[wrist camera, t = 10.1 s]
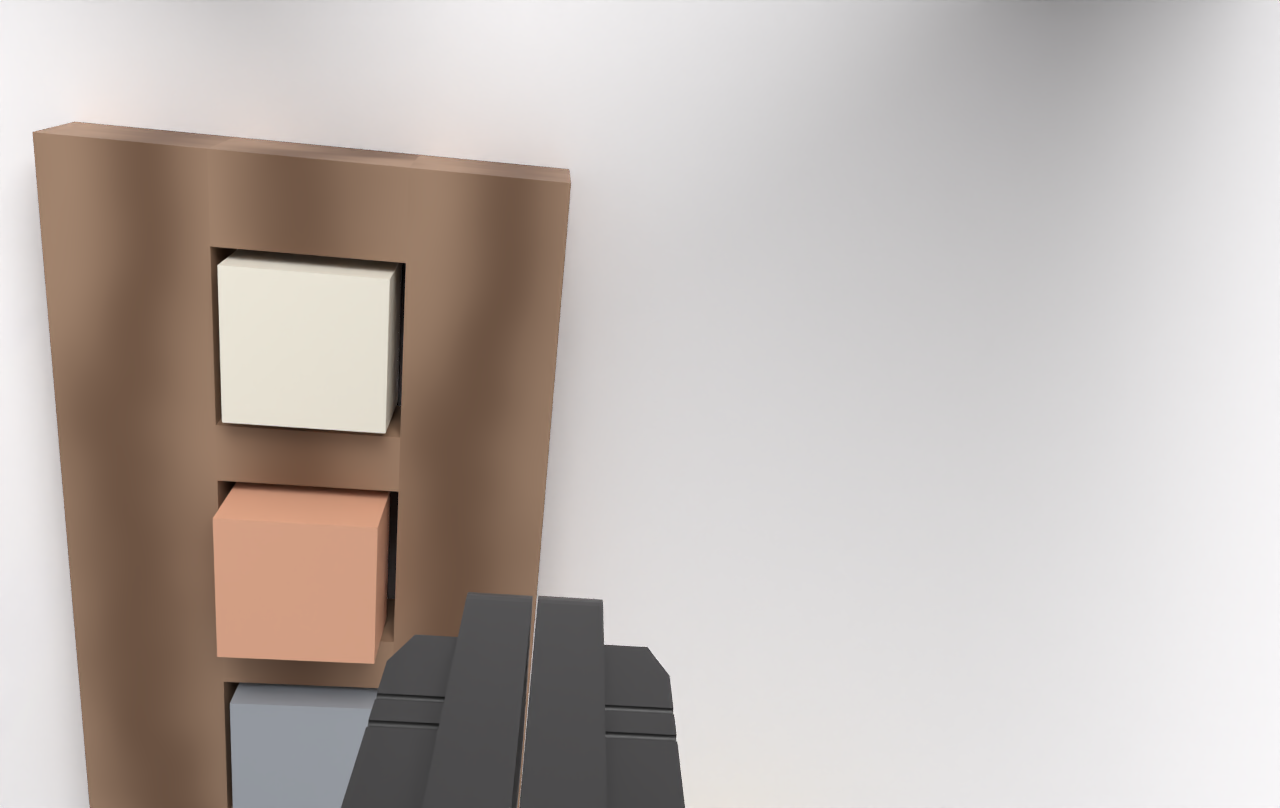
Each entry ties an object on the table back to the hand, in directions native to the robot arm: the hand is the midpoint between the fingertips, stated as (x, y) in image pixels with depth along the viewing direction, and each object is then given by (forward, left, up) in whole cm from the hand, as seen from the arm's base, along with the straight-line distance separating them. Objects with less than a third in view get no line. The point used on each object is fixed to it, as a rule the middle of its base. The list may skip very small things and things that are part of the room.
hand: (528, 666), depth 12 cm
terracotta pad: (+7, +12, -25) cm, 28 cm away
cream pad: (+7, +4, -26) cm, 27 cm away
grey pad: (+7, +20, -26) cm, 34 cm away
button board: (+7, +12, -27) cm, 30 cm away
